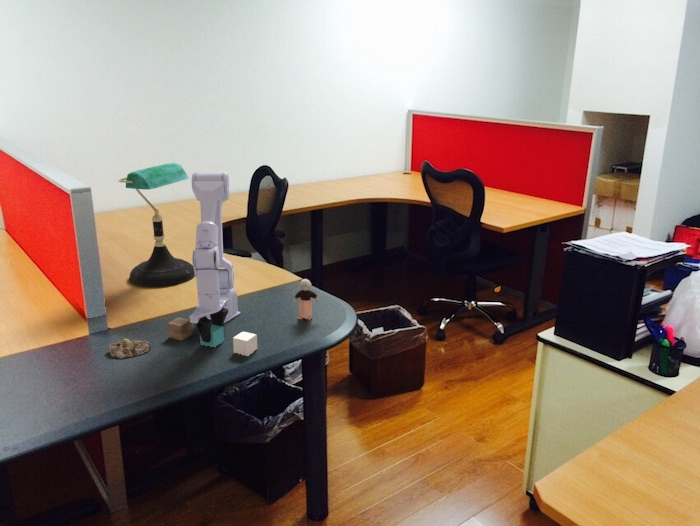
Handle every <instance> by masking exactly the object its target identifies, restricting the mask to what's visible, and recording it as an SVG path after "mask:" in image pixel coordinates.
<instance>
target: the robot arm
mask: <svg viewBox="0 0 700 526" xmlns="http://www.w3.org/2000/svg"><path fill="white" fill-rule="evenodd" d="M191 188H192V192H193V195H194V196H195V198H196V200H197V201H198V202H199V203H200V207H199V208H200V221H201V222H200V223H198V224H197V225H196V226H195V227H196V229H195V246H194V247H195V249H194V250H192V256H191V257H192V258H191V261H192V263H191V264H192V265H193V268H194V272H195V276H194V277H196V278H195V280H196V290H197V302H198V303H197V304H196V305H195V310H194V311H193V313H191V315H189V320H190V323H192V324H194V326H195V328H196V329H197V330H198V333H199V336H200V335H201V338H202V341H203V342H207V343H209V342H210V339H211V325H212V324H213V325H218V326H222V327H223V328H224V325H225V323H227V322H229V321H231V320H232V319H234V318H235V317H237V316H239V315H240V314H241V311H239V307H238V294H237V290H236V289H235V288H234V287H235V271H234V265H233V263H232V262H231V261H230V260H228V259H227V258H225V257H224V243H223V242H224V241H223V218H222V217H223V216H222V215H223V212H222V210H223V209H222V207H223V203H224V202H226V201H228V200H229V197H230V182H229V174H228V172H227V171H221V172H220V171H214V172H209V171H207V172H197V171H194V172H193V173H192V174H191Z"/></svg>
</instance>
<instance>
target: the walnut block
mask: <svg viewBox="0 0 700 526" xmlns="http://www.w3.org/2000/svg"><path fill="white" fill-rule="evenodd" d="M167 327H168V337H169V338H170V339H174V340H178V341H183V340H185V339H187V338H189V337H190V336H193V323H190V318H183V317H176V318H174V319H173V320H171V321H169V322H167Z"/></svg>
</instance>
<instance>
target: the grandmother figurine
mask: <svg viewBox="0 0 700 526" xmlns="http://www.w3.org/2000/svg"><path fill="white" fill-rule="evenodd" d="M299 285H300V288H301V289H300V290H299V291H298V292H296V294H295V295H294V298H293V300H292V302H293V303H297V301H298V299H299V304H298V316H297V318H296V319H300V320H299V321H302V320H301V319H303V318H304V319H305V320H306V319H311V317H312V314H313V313H312V311H313V307H312V306H313V304H312V299H314V301H315V303H319V302H320V300H319V297H318V294H316V293H315V292H314V291H313V290H310V288H311V287H312V283H311V281H310V280H309V279H307V278H303V279H301V281H300V283H299ZM311 298H312V299H311ZM304 319H303V320H304Z"/></svg>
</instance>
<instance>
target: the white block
mask: <svg viewBox="0 0 700 526" xmlns="http://www.w3.org/2000/svg"><path fill="white" fill-rule="evenodd" d="M232 346H233V353H234V354H236V353H238V354H237V355H240V354H241V356H246V357H250V354H251V355H252V354H253V353H255V352H256V351H257V350H258V335H257V333H256V334H255V333H252V332H248V331H241V332H240V333H238V334H237V335H235V336H233V337H232ZM256 349H257V350H256ZM255 350H256V351H255ZM254 351H255V352H254Z"/></svg>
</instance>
